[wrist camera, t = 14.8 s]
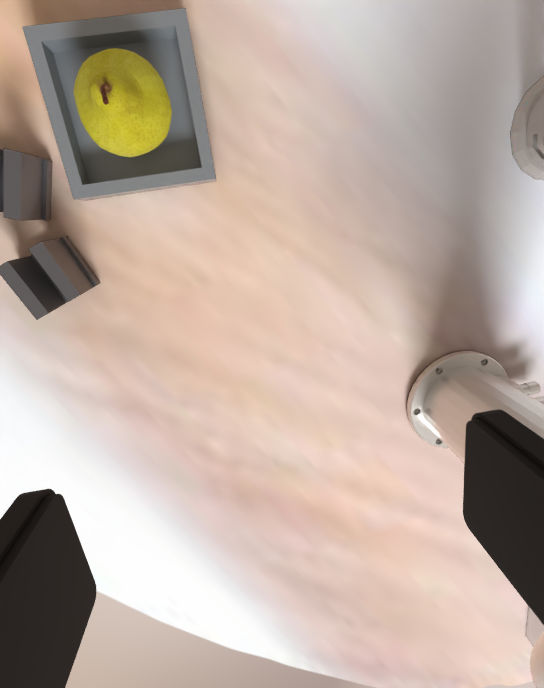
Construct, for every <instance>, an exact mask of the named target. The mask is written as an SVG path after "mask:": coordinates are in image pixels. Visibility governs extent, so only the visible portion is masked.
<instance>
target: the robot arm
mask: <svg viewBox="0 0 544 688" xmlns="http://www.w3.org/2000/svg"><path fill="white" fill-rule="evenodd" d="M539 392H540V386H539V384H538V383H537V382H529V383H524V384H522V385H518V384H517V383H515V382H513V381H511V380H510V379H508V376H507V373H506V372H505V370H504V368H503V367H502V366H501V365H500V364H499V363H498V362H497V361H496V360H494V359H492V358H491V357H489V356H487V355H485V354H482V353H479V352H474V351H460V352H454V353H451V354H448V355H446V356H443V357H441V358H440V359H438V360H436V361H434V362H433V363H432V364H430V365H429V366H428V367H427V368H426V369H425V370H424V371H423V372H422V373H421V374H420V375H419V376H418V378H417V380H416V381H415V383H414V384H413V386H412V389H411V391H410V393H409V398H408V402H407V414H408V419H409V422H410V424H411V426H412V428H413V429H414V431H415V432H416V433H417V434H418V435H419V436H420V437H421V438H422V439H423V440H424V441H425V442H427V443H429V444H430V445H433V446H435V447H440V448H449V449H450V450H451V451H452V452H453V453H454V454H455V455H456V456H457V457H458V458H459V459H460V460H461V461H462V462H463V463H464V464H465V467H464V498H463V515H464V519H465V522H466V524H467V526H468V528H469V529H470V531H471V532H472V533H473V535H474V536H475V537H476V538H477V540H478V541H479V542H480V544H481V545H482V546H483V548H484V549H485V550H486V551H487V553H488V554H489V555H490V557H491V558H492V559H493V560H494V562H495V563H496V564H497V566H498V567H499V568H500V570H501V571H502V572H503V573H504V575H505V576H506V577H507V579H508V580H509V581H510V582H511V584H512V585H513V586H514V588H515V589H516V590H517V592H518V593H519V594H520V595H521V597H522V598H523V599H524V601H525V602H526V603H527V604H528V606H529V607H530V608H531V610H532V611H533V612H534V614H535V615H536V616H537V617H538V619H539V620H540V621H541V623H542V624H543V625H544V397H536V398H532V397H530V396H528V395H531V394H536V393H539ZM95 598H96V584H95V581H94V578H93V575H92V573H91V570H90V567H89V565H88V562H87V559H86V557H85V554H84V551H83V549H82V546H81V543H80V541H79V538H78V535H77V533H76V530H75V527H74V524H73V522H72V519H71V516H70V514H69V511H68V508H67V506H66V503H65V500H64V498H63V496H62V495H61V494H55V492H54V491H53V490H52V489H45V490H39V491H33V492H28V493H23V494H20V495H19V496H18V497H17V498H16V500H15V501H14V502H13V503H12V505H11V506H10V507H9V509H8V510H7V511H6V513H5V514H4V515H3V517H2V518H1V519H0V688H65V686H66V683H67V680H68V677H69V675H70V672H71V669H72V666H73V663H74V660H75V657H76V654H77V652H78V649H79V646H80V643H81V640H82V637H83V634H84V631H85V628H86V626H87V623H88V620H89V617H90V614H91V611H92V608H93V606H94V602H95ZM530 669H531V674H532V678H533V682H534V685H535V687H536V688H544V632H543V633H542V635H541V636H540V637H539V638H538V640H537V641H536V643H535V645H534V647H533V650H532V653H531V658H530Z"/></svg>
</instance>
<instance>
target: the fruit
mask: <svg viewBox="0 0 544 688" xmlns="http://www.w3.org/2000/svg"><path fill="white" fill-rule="evenodd" d="M74 97H75V102H76V106H77V110H78V113H79V116H80V119H81V122H82V124H83V126H84V127H85V129H86V131H87V132H88V134H89V135H90V137H91V138H92V139H93V141H94V142H95V143H96V144H97V145H98V146H99V147H101V148H102V149H104V150H106V151H108V152H110V153H113V154H116V155H119V156H125V157H134V156H139V155H142V154H145V153H148V152H150V151H151V150H153V149H155V148H156V147H158V146H159V145H160V144H161V143H162V142H163V141H164V139H165V138H166V136H167V134H168V131H169V128H170V123H171V116H172V108H171V103H170V99H169V96H168V93H167V90H166V87H165V85H164V82H163V80H162V78H161V77H160V75H159V74H158V72H157V71H156V70H155V68H154V67H153V66H152V65H151V64H150V63H149V62H148V61H147V60H146V59H144V58H143V57H141V56H139V55H138V54H136V53H135V52H131V51H128V50H124V49H117V48H112V49H106V50H103V51H101V52H98V53H96V54H94V55H92V56H90V57H89V58H88V59H87V60H86V61H85V62H84V63H83V64H82V66H81V67H80V69H79V71H78V74H77V77H76V80H75V84H74Z"/></svg>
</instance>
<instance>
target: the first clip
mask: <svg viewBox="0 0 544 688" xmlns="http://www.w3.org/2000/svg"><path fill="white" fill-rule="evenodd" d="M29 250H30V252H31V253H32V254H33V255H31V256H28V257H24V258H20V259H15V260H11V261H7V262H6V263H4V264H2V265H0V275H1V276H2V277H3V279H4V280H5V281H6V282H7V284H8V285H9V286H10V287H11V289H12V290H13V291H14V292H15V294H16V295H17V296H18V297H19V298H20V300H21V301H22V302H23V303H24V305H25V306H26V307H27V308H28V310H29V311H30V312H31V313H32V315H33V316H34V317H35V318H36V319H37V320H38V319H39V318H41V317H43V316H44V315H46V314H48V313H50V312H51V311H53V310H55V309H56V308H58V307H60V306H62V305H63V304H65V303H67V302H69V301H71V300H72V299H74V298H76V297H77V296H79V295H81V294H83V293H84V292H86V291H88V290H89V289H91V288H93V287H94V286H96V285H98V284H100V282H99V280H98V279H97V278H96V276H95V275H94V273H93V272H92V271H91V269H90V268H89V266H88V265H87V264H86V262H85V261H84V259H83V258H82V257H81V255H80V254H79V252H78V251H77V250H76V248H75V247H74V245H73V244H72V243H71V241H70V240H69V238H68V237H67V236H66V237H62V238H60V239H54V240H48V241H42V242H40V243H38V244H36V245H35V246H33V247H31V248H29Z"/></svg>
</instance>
